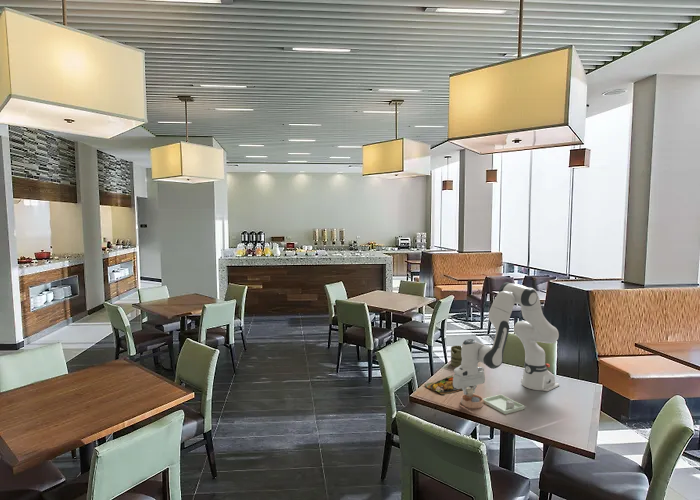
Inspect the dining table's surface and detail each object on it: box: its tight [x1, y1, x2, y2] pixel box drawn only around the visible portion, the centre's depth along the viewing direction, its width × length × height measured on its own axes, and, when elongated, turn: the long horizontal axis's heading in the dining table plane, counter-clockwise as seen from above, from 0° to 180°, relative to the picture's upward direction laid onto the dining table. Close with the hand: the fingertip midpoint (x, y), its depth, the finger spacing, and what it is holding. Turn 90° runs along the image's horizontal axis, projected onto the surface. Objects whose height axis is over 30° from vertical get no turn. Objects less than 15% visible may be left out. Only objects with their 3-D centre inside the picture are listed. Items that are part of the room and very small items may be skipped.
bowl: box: [460, 393, 485, 409], centre depth 224 cm, size 12×12×4 cm
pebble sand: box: [466, 386, 474, 397], centre depth 225 cm, size 4×4×4 cm
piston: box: [450, 345, 462, 368], centre depth 287 cm, size 11×12×11 cm
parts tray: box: [482, 393, 526, 415], centre depth 221 cm, size 14×17×2 cm
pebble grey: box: [506, 400, 514, 410], centre depth 217 cm, size 4×4×4 cm
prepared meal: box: [424, 374, 467, 397], centre depth 249 cm, size 28×4×18 cm
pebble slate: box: [472, 397, 479, 402], centre depth 221 cm, size 4×4×4 cm
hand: (469, 393), depth 226 cm, fingers closed on pebble sand, 4 cm apart
